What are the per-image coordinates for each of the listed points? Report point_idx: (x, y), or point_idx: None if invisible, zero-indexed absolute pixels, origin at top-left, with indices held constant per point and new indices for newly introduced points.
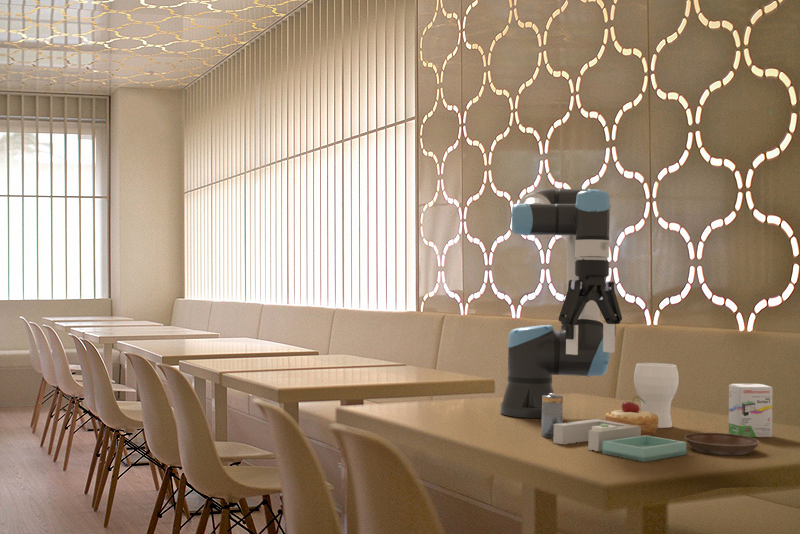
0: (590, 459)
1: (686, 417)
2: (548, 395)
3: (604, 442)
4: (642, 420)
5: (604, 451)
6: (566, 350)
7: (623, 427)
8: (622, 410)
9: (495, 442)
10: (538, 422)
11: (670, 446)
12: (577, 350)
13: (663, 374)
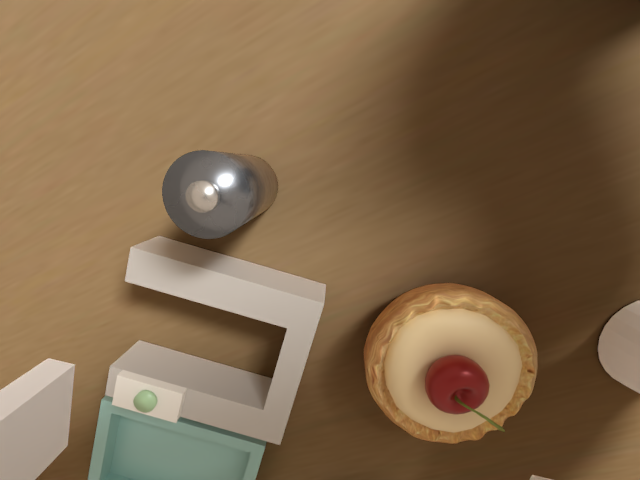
0: None
1: None
2: (216, 170)
3: (101, 403)
4: (389, 418)
5: None
6: (22, 380)
7: (226, 417)
8: (467, 346)
9: (44, 108)
10: (486, 9)
11: None
12: (36, 472)
13: None
